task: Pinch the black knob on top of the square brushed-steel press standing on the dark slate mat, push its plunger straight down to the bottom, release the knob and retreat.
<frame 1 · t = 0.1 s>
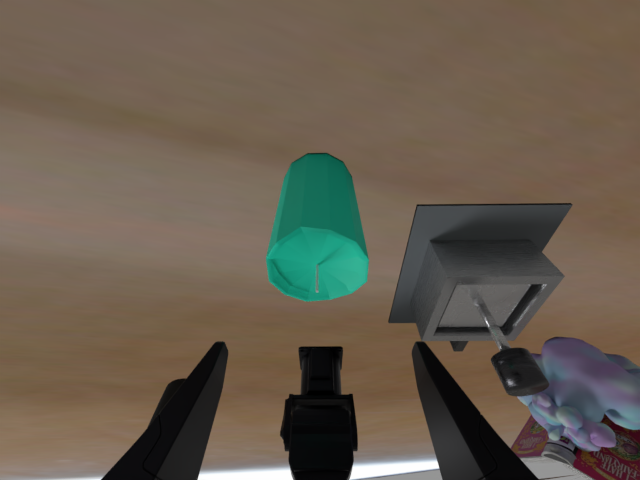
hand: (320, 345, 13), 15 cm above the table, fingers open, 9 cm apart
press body: (463, 275, 30), resting on slate mat
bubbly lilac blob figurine: (555, 360, 43), on the table
slate mat: (462, 273, 31), on the table
pen holder: (193, 387, 49), on the table
candle: (318, 184, 24), on the table
plunger: (499, 339, 24), point 8 cm above the table, slide at 0.0 cm
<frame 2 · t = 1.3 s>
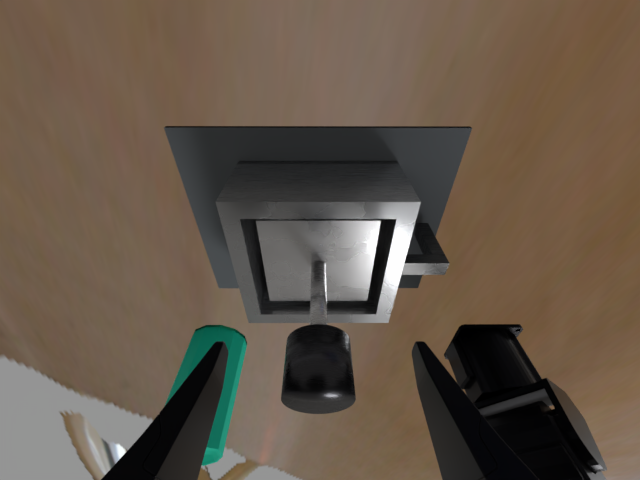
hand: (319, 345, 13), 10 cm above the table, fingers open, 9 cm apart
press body: (318, 225, 20), resting on slate mat
slate mat: (318, 222, 21), on the table
candle: (220, 338, 31), on the table
plunger: (318, 313, 14), point 8 cm above the table, slide at 0.0 cm
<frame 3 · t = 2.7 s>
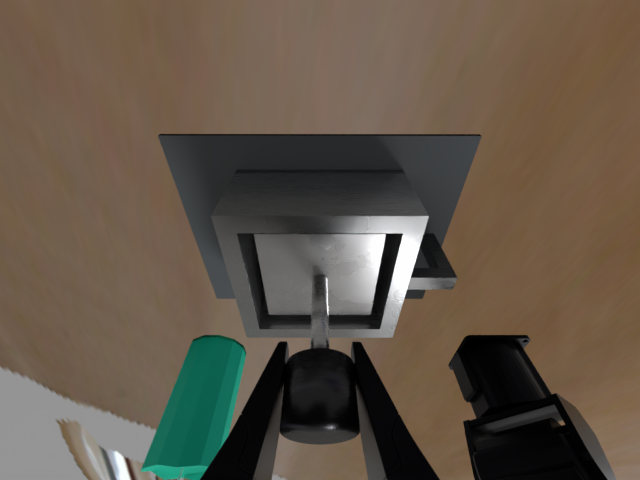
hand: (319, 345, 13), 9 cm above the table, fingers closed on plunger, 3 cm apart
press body: (319, 235, 20), resting on slate mat
slate mat: (319, 232, 20), on the table
candle: (219, 348, 30), on the table
plunger: (319, 333, 13), point 8 cm above the table, slide at 0.0 cm, touching gripper
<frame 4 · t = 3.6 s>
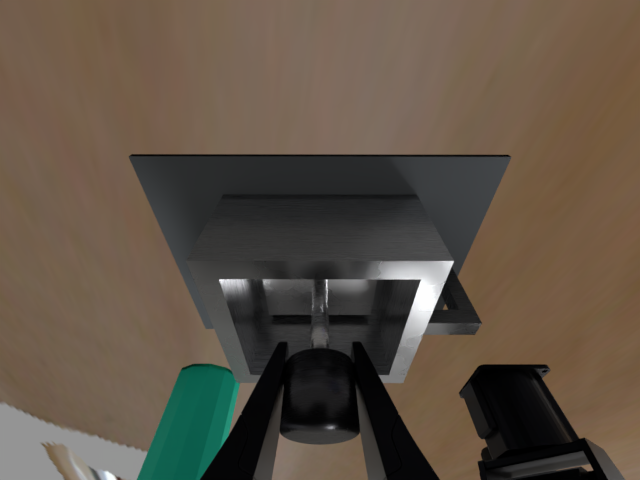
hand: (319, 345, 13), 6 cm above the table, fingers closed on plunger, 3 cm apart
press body: (319, 264, 17), resting on slate mat
slate mat: (319, 261, 17), on the table
candle: (210, 376, 28), on the table
plunger: (319, 333, 13), point 5 cm above the table, slide at 3.0 cm, touching gripper
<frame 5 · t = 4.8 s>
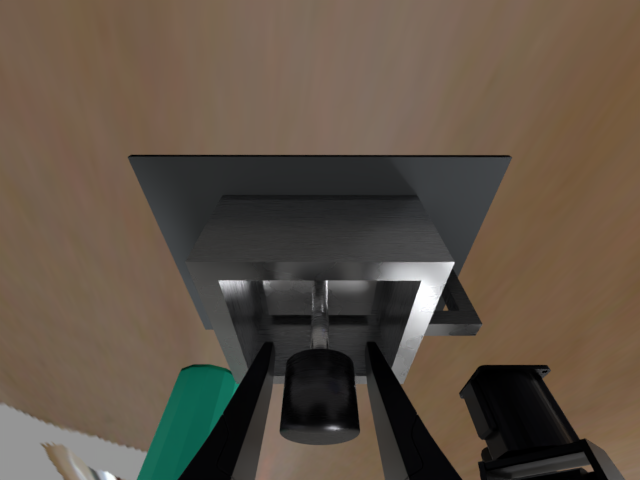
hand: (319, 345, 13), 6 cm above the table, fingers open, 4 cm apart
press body: (319, 265, 17), resting on slate mat
slate mat: (319, 262, 17), on the table
candle: (210, 376, 28), on the table
plunger: (319, 333, 13), point 5 cm above the table, slide at 3.1 cm
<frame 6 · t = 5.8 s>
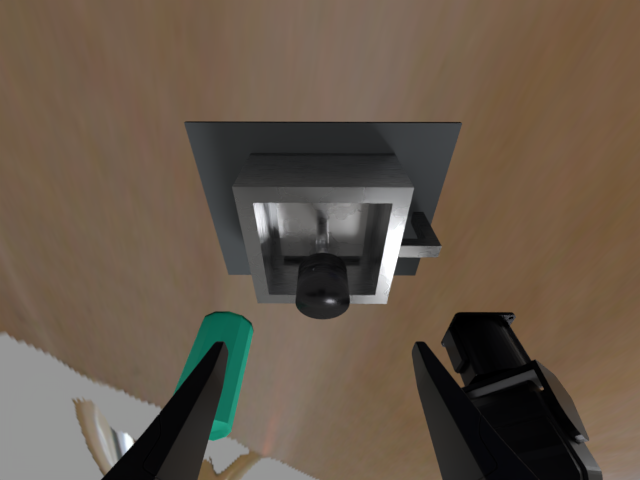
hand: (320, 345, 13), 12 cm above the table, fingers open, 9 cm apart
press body: (322, 214, 22), resting on slate mat
slate mat: (322, 212, 22), on the table
candle: (228, 325, 32), on the table
plunger: (322, 253, 18), point 5 cm above the table, slide at 3.1 cm
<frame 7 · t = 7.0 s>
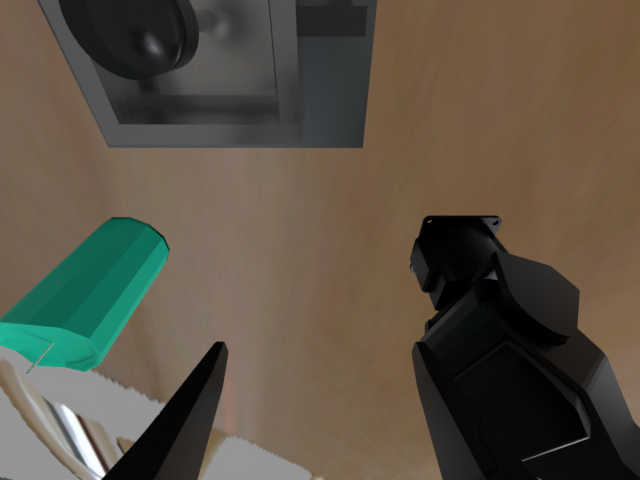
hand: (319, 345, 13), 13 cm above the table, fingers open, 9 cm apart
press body: (211, 21, 15), resting on slate mat
slate mat: (212, 21, 15), on the table
candle: (137, 241, 25), on the table
plunger: (175, 21, 11), point 5 cm above the table, slide at 3.1 cm
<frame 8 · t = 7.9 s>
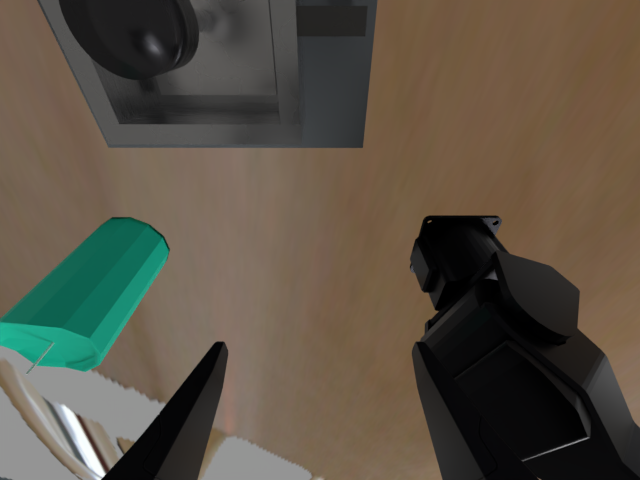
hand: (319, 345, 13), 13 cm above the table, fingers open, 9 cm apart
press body: (211, 21, 15), resting on slate mat
slate mat: (212, 21, 15), on the table
candle: (137, 241, 25), on the table
plunger: (175, 21, 11), point 5 cm above the table, slide at 3.1 cm
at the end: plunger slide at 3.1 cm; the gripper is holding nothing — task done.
